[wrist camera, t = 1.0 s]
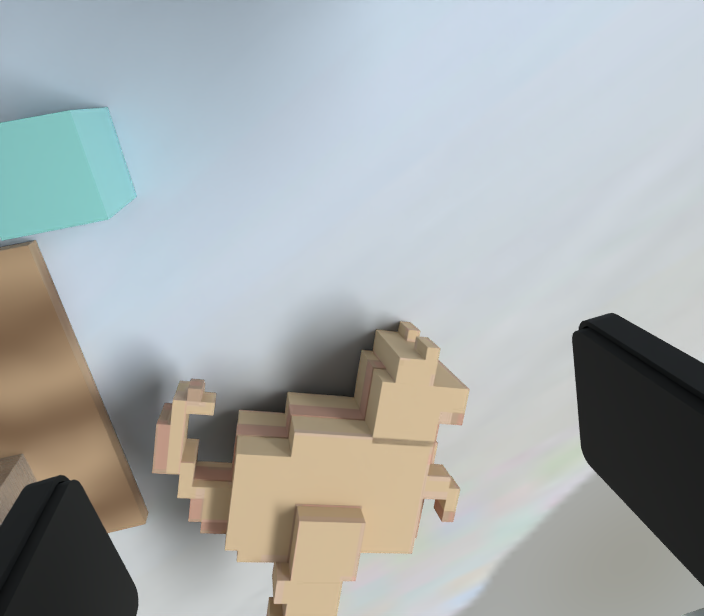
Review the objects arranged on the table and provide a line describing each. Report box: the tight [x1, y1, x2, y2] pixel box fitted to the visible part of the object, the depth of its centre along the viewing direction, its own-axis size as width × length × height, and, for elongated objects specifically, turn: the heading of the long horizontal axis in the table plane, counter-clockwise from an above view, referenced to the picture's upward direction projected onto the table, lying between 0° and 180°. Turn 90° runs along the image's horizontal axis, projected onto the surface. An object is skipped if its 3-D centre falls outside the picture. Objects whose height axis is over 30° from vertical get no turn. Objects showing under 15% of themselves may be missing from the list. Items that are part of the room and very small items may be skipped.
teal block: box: [0, 107, 137, 240], centre depth 29 cm, size 5×5×7 cm
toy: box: [152, 321, 470, 616], centre depth 37 cm, size 10×20×20 cm
